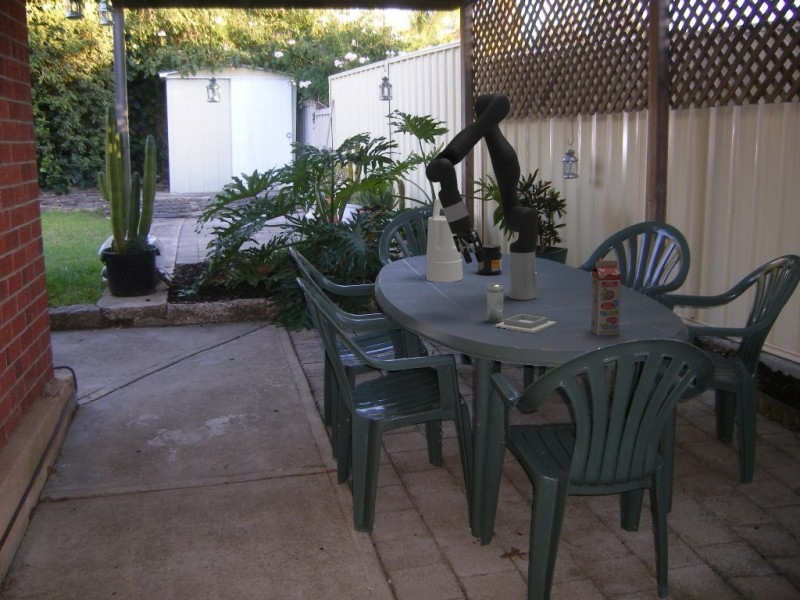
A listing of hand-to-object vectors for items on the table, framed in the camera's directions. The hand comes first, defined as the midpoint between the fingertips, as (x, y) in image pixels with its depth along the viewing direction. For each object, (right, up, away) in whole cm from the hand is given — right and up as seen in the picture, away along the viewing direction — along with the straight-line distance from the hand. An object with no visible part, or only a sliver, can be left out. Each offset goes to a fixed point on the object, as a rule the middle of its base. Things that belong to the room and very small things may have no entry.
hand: (475, 262), depth 277 cm
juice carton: (+37, -23, -25) cm, 50 cm away
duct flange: (+15, -21, -14) cm, 29 cm away
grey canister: (+6, -19, -7) cm, 21 cm away
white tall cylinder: (-7, -4, +69) cm, 69 cm away
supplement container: (+13, -1, +78) cm, 79 cm away
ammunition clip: (+53, -9, +37) cm, 65 cm away
